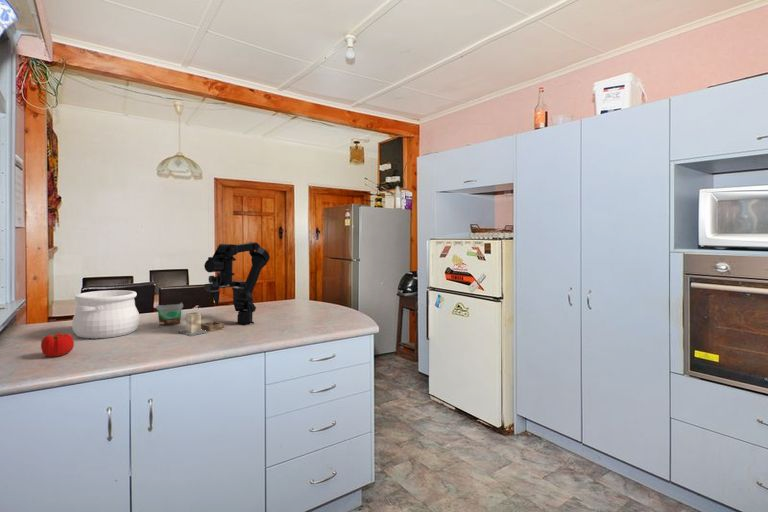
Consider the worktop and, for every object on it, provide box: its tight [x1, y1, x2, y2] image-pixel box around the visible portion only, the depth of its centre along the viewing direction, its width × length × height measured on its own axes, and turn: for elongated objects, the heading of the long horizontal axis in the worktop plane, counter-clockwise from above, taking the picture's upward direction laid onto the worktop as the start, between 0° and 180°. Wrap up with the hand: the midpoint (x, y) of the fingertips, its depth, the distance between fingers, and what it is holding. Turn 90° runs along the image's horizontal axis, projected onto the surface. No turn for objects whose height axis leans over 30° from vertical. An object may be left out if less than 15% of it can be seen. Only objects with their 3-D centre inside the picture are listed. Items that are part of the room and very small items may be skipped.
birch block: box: [185, 311, 202, 333], centre depth 181 cm, size 4×4×8 cm
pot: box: [71, 289, 141, 340], centre depth 176 cm, size 26×24×18 cm
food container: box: [155, 301, 184, 327], centre depth 195 cm, size 12×6×10 cm, turn 143°
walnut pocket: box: [201, 320, 225, 332], centre depth 188 cm, size 8×8×2 cm
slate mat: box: [178, 329, 209, 337], centre depth 181 cm, size 8×10×1 cm
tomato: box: [40, 332, 75, 358], centre depth 145 cm, size 9×9×8 cm
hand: (225, 303), depth 188 cm, fingers open, 9 cm apart
